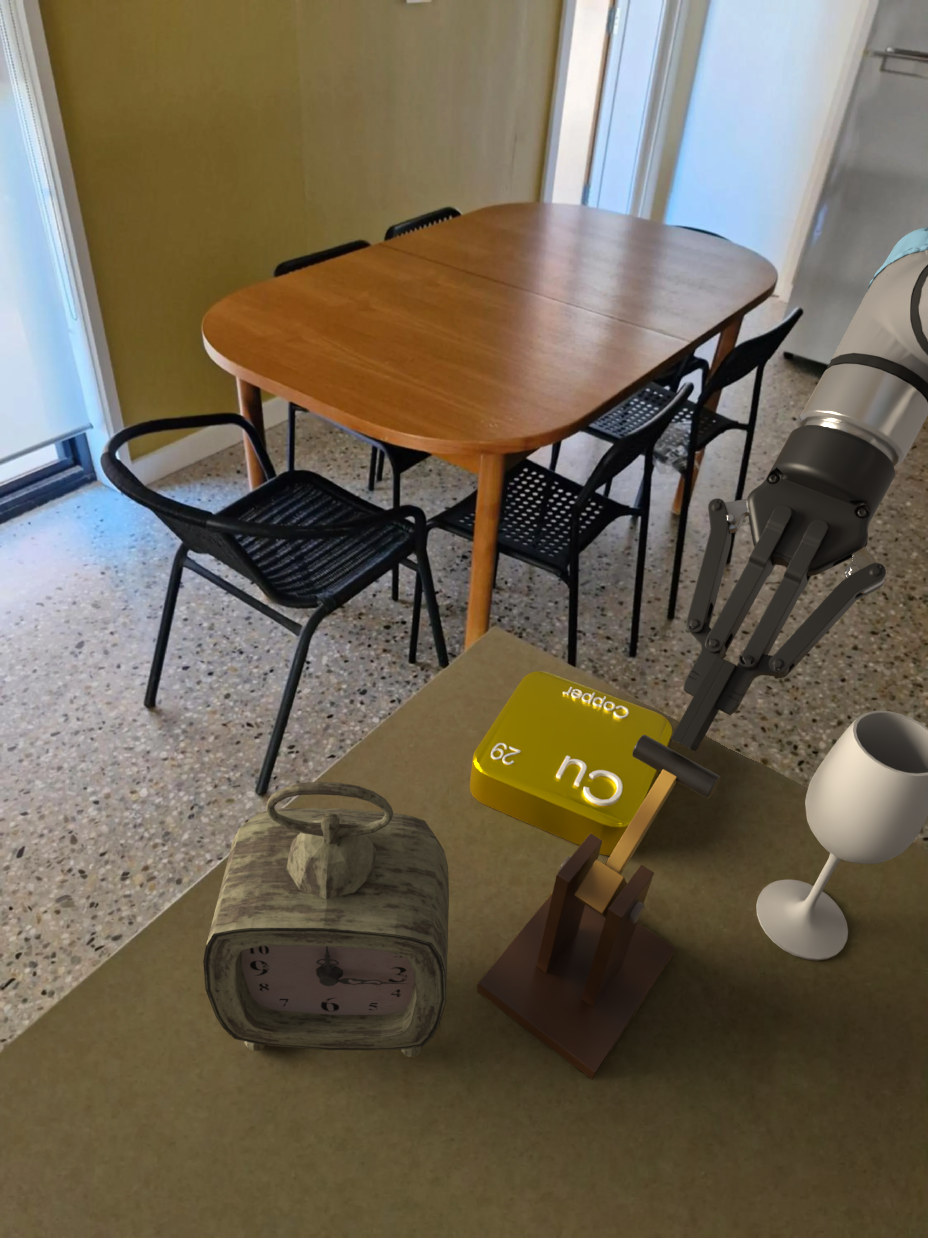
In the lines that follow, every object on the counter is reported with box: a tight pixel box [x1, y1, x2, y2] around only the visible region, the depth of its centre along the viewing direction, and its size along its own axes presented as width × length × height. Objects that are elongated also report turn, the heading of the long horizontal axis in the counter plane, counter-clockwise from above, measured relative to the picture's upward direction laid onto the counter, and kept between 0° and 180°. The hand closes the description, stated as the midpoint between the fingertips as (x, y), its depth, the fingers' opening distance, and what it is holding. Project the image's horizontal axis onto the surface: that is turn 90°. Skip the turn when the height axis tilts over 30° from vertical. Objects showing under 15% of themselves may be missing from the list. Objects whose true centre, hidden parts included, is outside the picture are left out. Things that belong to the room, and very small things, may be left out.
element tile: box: [469, 670, 673, 856], centre depth 81 cm, size 15×15×5 cm
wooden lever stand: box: [476, 834, 676, 1080], centre depth 63 cm, size 12×10×13 cm
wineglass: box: [755, 709, 928, 961], centre depth 65 cm, size 8×8×21 cm
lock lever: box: [575, 735, 721, 918], centre depth 61 cm, size 12×6×2 cm, turn 143°
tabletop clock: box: [203, 781, 450, 1058], centre depth 56 cm, size 14×9×25 cm, turn 90°
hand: (683, 745), depth 62 cm, fingers closed
